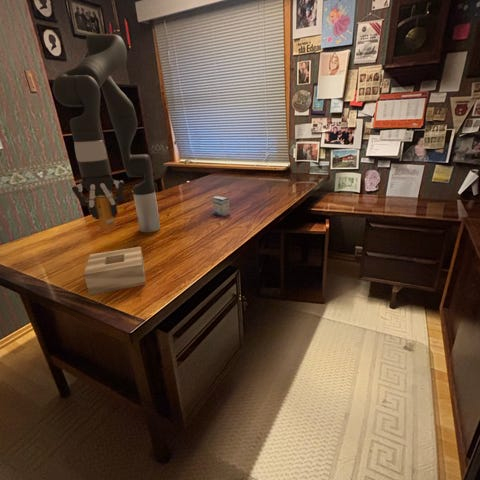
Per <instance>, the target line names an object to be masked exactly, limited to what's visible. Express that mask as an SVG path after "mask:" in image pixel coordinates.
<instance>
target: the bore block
mask: <svg viewBox="0 0 480 480" xmlns="http://www.w3.org/2000/svg"><path fill="white" fill-rule="evenodd" d="M144 262H145V261H144V258H143V252H142V247H141V246H136V247H130V248H123V249H117V250H116V249H115V250H111V251H104V252H98V253H92V254H89V257H88V259H87V262H86V266H85V269H84V272H83V276H84V281H85V284H86V287H87V290H88V294H89V296H92V295H97V294H102V293H108V292H113V291H118V290H123V289H129V288H133V287H137V286H144V285H146V284H147V283H146V270H145V263H144Z"/></svg>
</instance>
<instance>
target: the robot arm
mask: <svg viewBox="0 0 480 480" xmlns="http://www.w3.org/2000/svg"><path fill="white" fill-rule="evenodd" d="M85 42H86V50H87V53H88V56H87V57H84V58H83V59H81V60H80V62H78V64H77V65H76V66H75V67H74V68H71V69H68V70H67V71H64V72H62V73H60V74H58V75H57V76H56V77H55V78H54V79H53V83H52V93H53V95H54V98H55V100H56V101H58V103H60V104H61V105H62V106H65V107H69V108H76V107H80V108H81V107H84V110H83V114H81V115H78V116H76V117H73V118H70V120H69V126H70V127H69V128H70V131H71V135H72V139H73V143H74V144H73V145H74V152H75V158H76V160H77V164H78V168H79V173H80V176H81V182H80V183H79V184H74V185H73V186H72V187H71V190H72V192H73V194H74V195H75V196H76V198H77V200H78V201H79V202H80V204H81V206H82V207H89V209H90V213H91V217H92V218H93V219H95V220H99V219H98V215H97V210H96V205H95V200H94V199H95V197H98V196H107V198H108V199H109V201H110V203H111V209H112V214H113V217H114V218H116V217H117V216H118V212H119V211H118V207H117V204H118V203H121V202H122V197H123V191H124V185H125V184H124V183H125V182H124V180H122V179H120V180H118V179H117V180H116V179H114V178H113V176H112V174H111V168H110V165H109V160H108V154H107V149H106V146H105V144H104V140H103V135H102V131H101V126H100V111H101V109H100V107H101V91H102V95H103V97H104V98H103V99H104V101H105V105H106V107H107V111H108V114H109V119H110V122H111V124H112V128H113V130H114V133H115V137H116V139H117V143H118V146H119V150H120V155H121V159H122V164H123V167H124V171H125V173H126V175H127V177H128V178H144V180H143V181H142V182H140V183H138V184H135V185H134V186H133V187H132V194H133V199H134V205H135V210H136V215H137V221H138V226H139V227H138V228H139V231H140V233H155V232H157V231H159V230H160V229H161V223H160V222H161V221H160V214H159V208H158V203H157V196H156V194H157V193H156V190H155V189H156V188H155V181H154V175H153V174H154V173H153V163H152V159H151V156H150V155H149V154H145V153H143V154H142V153H141V154H131V146H132V142H133V140H134V137H135V135H136V132H137V129H138V125H139V123H138V119H137V117H138V116H137V114H136V110H135V107H134V105H133V102H132V101H131V100H130V98H128V97H127V95H126V93H124V92H123V91H122V90H121V89H120V87H119V86H118V85H117V84H116V83H115V81H114V80H113V78H112V75H113V74H115V72H117V71H119V70H121V69H122V68H124V67H125V65H126V63H127V60H128V52H127V48H126V44H125V42H124V39H123V38H122V37H121V36H120V35H117V34H114V33H90V34H87V36H86V41H85ZM100 88H101V89H100ZM114 185H115V189H118V190H117V196H116V197H114V194H113V192H112V190H111V189H112V187H113V186H114ZM83 188H84V189H85V190H86V191H87V192H88V193H89V198H88V199H89V200H87V199H86V197H85V196H84V194H83V192H82V191H83Z"/></svg>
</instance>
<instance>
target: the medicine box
mask: <svg viewBox="0 0 480 480" xmlns="http://www.w3.org/2000/svg"><path fill="white" fill-rule="evenodd" d="M211 198H212V212H213V214H214V215H216V216H217V215H218V216H222V217H225V216H228V215H230V202H229V201H230V199H229V198H228V197H226V196H225V197H224V196H221V195H220V196H219V195H215V196H213V197H211Z"/></svg>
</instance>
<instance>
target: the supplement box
mask: <svg viewBox="0 0 480 480" xmlns="http://www.w3.org/2000/svg"><path fill="white" fill-rule="evenodd" d="M94 200H95V206H96V210H97V215H98V219H97V220H98V224H99V228H100V231H102V232H103V231H105V232H110V231H114V230H116V228H117V227H116V222H115V217H113V214H112V209H111V203H110V201H109V199H108V198H107V196H106V195H97V196H95V199H94Z"/></svg>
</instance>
